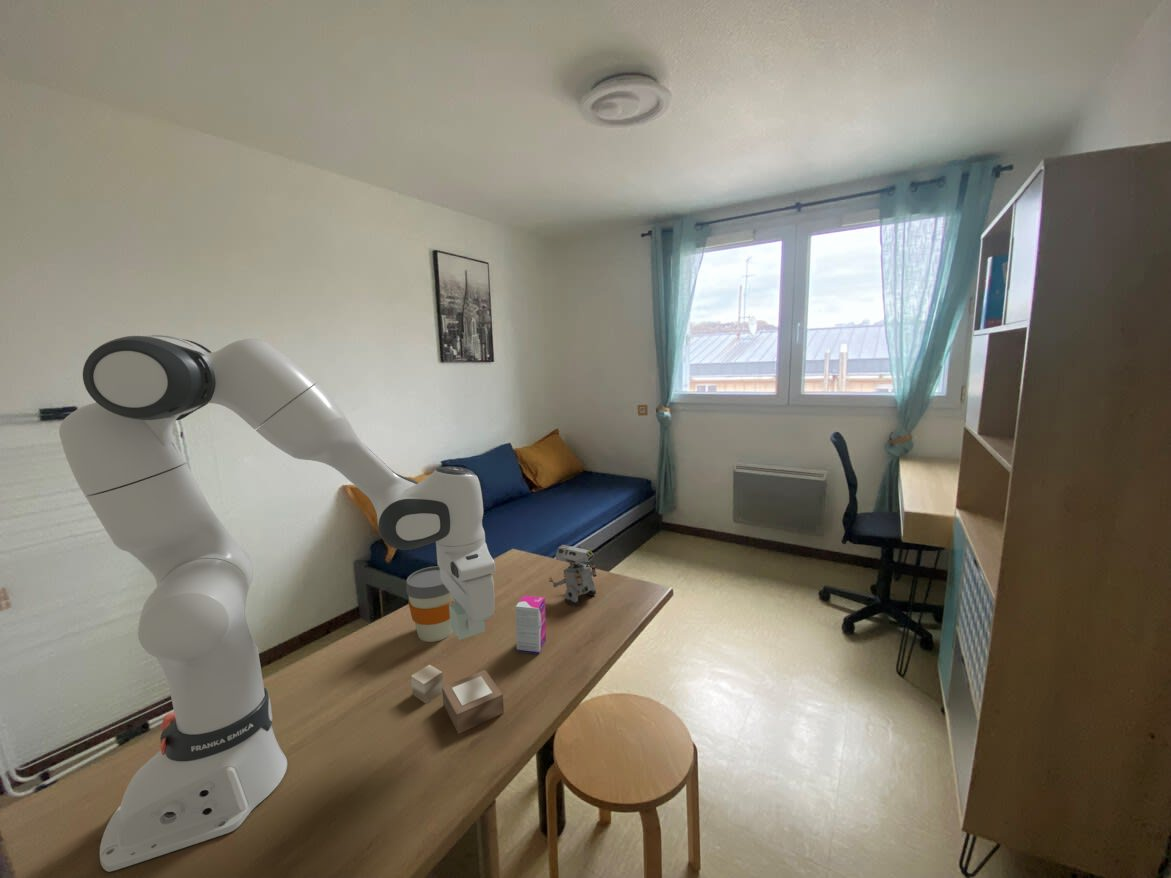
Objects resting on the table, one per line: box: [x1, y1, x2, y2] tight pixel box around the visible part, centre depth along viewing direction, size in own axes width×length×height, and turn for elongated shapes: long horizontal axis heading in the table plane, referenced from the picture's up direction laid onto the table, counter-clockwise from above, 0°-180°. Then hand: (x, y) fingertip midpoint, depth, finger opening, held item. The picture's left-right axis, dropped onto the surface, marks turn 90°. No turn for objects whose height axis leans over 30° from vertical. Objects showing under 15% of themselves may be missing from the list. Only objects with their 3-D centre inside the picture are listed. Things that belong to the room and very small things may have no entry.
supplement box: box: [515, 595, 547, 655], centre depth 111 cm, size 6×6×12 cm
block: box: [410, 664, 444, 704], centre depth 96 cm, size 4×4×4 cm
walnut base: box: [442, 669, 505, 735], centre depth 91 cm, size 9×9×4 cm
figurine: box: [548, 544, 597, 607], centre depth 134 cm, size 9×12×15 cm
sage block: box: [449, 601, 486, 641], centre depth 89 cm, size 5×5×5 cm
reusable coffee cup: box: [406, 565, 454, 643], centre depth 118 cm, size 13×13×15 cm
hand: (466, 621), depth 89 cm, fingers closed on sage block, 5 cm apart
